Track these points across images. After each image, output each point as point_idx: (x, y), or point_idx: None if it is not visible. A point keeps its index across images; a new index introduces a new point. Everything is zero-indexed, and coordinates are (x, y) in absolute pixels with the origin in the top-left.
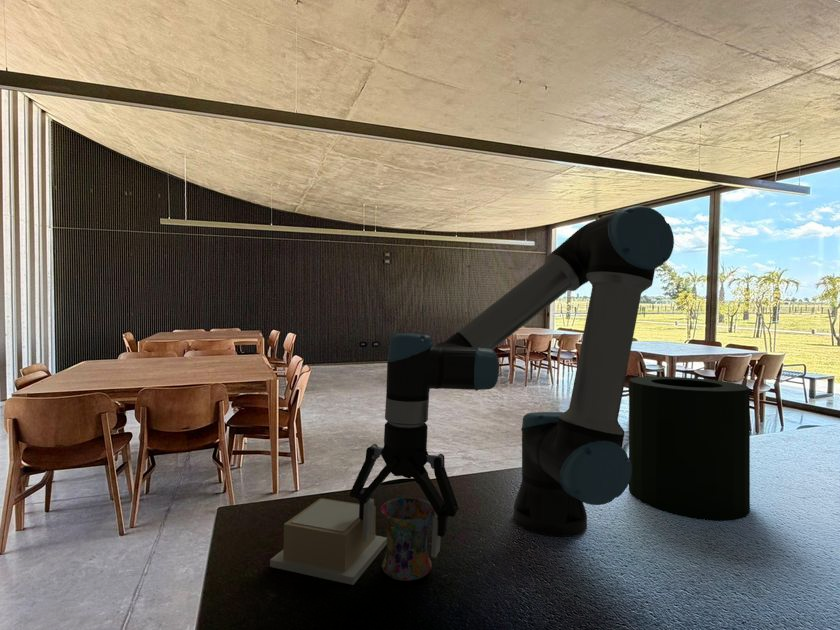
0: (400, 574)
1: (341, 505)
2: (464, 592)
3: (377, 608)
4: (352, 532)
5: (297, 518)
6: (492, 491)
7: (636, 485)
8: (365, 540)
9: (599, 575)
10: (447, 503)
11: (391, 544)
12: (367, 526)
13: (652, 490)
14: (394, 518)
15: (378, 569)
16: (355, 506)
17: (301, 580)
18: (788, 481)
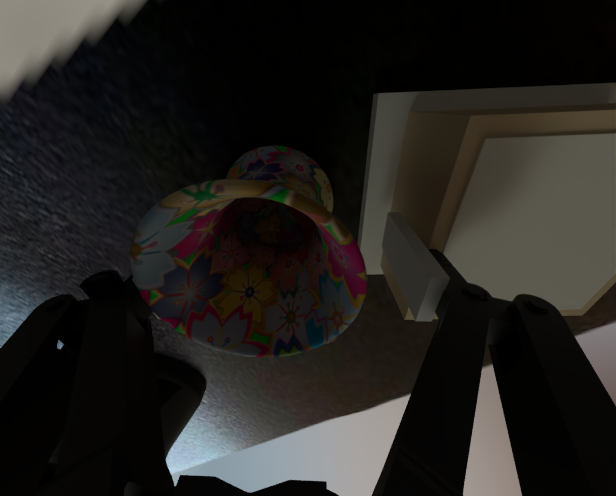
0: (265, 150)
1: (512, 297)
2: (135, 171)
3: (270, 9)
4: (441, 177)
5: None
6: (260, 409)
7: None
8: (391, 213)
9: (3, 293)
10: (29, 338)
11: (295, 185)
12: (399, 235)
13: (57, 445)
14: (245, 187)
15: (338, 182)
16: None
17: (523, 54)
18: None
